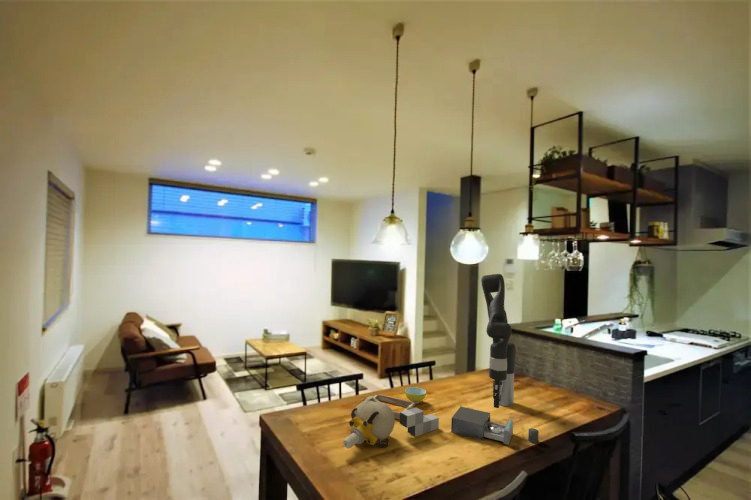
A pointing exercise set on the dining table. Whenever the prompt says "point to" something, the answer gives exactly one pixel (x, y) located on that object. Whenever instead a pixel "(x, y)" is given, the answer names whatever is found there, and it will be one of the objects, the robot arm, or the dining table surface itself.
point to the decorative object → (370, 423)
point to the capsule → (533, 435)
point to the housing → (469, 422)
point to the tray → (504, 436)
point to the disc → (494, 429)
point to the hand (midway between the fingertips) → (497, 404)
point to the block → (418, 421)
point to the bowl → (415, 394)
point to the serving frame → (396, 401)
